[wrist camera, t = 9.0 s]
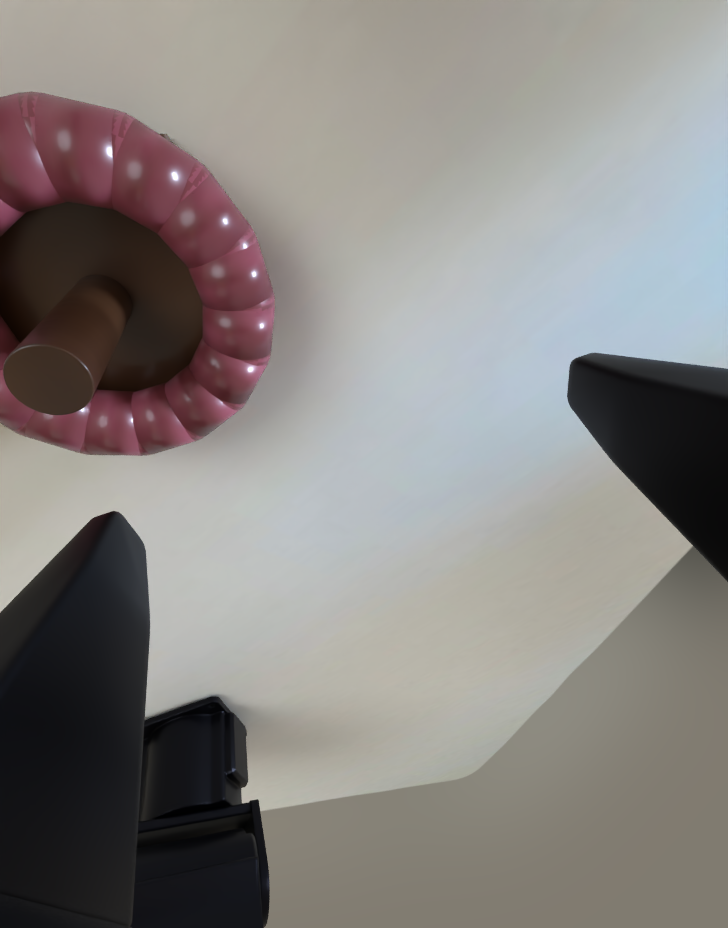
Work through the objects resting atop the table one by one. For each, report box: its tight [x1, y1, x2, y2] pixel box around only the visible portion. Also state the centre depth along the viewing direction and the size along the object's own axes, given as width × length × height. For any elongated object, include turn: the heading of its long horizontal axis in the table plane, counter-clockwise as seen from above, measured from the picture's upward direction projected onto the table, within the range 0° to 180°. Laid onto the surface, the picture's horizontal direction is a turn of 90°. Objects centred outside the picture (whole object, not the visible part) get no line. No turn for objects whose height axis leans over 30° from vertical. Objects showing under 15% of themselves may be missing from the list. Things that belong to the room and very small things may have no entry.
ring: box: [0, 92, 275, 456], centre depth 15 cm, size 11×11×2 cm
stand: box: [0, 134, 203, 415], centre depth 14 cm, size 8×8×8 cm
